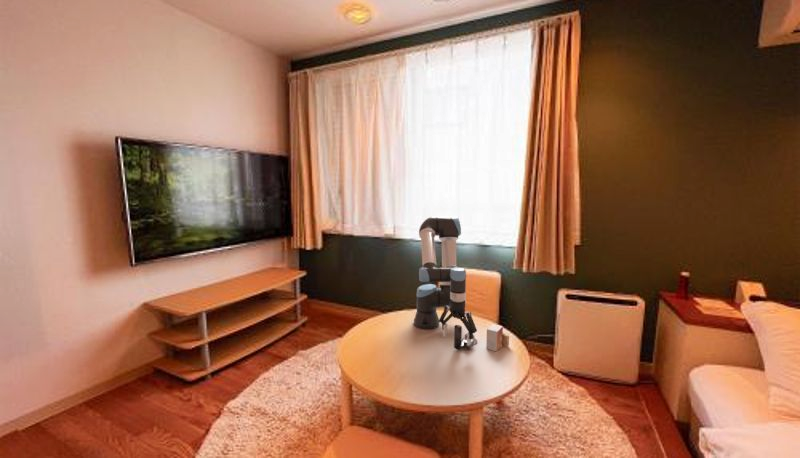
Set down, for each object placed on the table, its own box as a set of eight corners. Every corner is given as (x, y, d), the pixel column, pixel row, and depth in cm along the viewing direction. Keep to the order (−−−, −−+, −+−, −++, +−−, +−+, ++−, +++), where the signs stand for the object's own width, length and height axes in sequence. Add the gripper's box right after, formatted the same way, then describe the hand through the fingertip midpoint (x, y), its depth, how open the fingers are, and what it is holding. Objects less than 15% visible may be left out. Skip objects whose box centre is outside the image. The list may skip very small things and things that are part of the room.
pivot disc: (458, 340, 175) (458, 339, 175) (469, 336, 180) (469, 335, 180) (469, 346, 169) (469, 345, 169) (480, 342, 173) (480, 341, 173)
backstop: (494, 341, 174) (494, 330, 173) (496, 340, 175) (496, 329, 174) (506, 347, 167) (507, 336, 167) (508, 346, 168) (509, 335, 167)
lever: (467, 336, 178) (467, 315, 176) (479, 340, 173) (480, 318, 171) (451, 350, 164) (451, 326, 162) (464, 354, 160) (464, 330, 158)
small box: (496, 351, 163) (497, 332, 162) (486, 348, 167) (486, 329, 165) (502, 345, 170) (503, 326, 168) (492, 342, 173) (492, 323, 171)
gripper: (432, 296, 166) (432, 335, 169) (477, 308, 149) (476, 351, 153) (440, 292, 171) (440, 330, 174) (484, 303, 155) (483, 345, 158)
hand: (456, 340), depth 163 cm, fingers open, 13 cm apart
